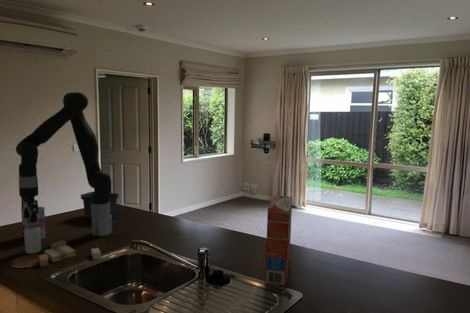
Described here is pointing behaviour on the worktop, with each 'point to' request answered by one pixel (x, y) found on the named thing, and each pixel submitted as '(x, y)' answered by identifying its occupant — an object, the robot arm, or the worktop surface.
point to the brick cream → (95, 253)
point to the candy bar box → (39, 221)
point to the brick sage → (58, 244)
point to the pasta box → (278, 240)
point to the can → (32, 239)
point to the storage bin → (87, 204)
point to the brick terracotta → (43, 260)
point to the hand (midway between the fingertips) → (30, 220)
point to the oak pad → (60, 253)
